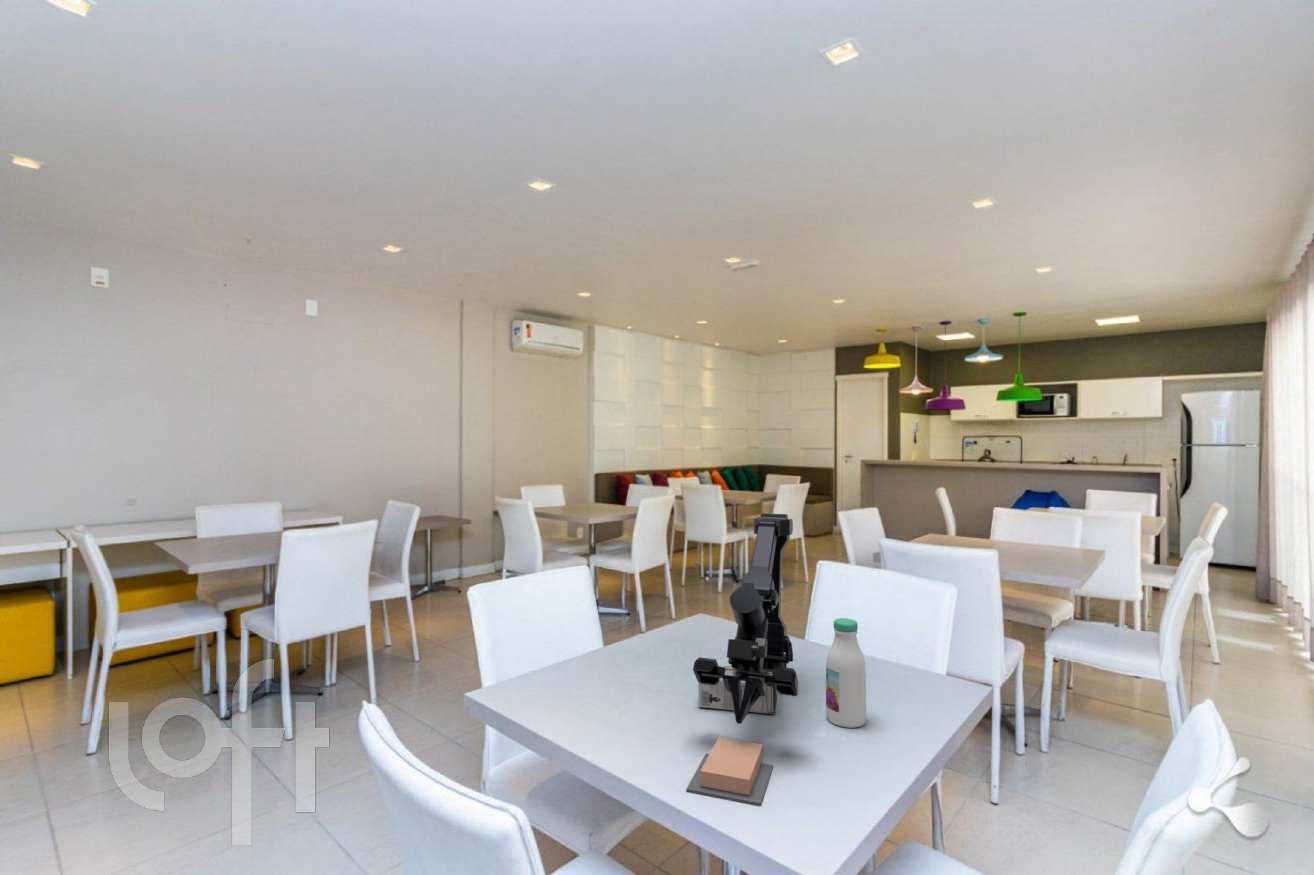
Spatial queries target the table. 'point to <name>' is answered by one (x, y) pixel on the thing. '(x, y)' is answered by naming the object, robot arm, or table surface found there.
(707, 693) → the coffee box
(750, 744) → the block
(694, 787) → the mat
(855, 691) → the milk bottle
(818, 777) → the table surface
